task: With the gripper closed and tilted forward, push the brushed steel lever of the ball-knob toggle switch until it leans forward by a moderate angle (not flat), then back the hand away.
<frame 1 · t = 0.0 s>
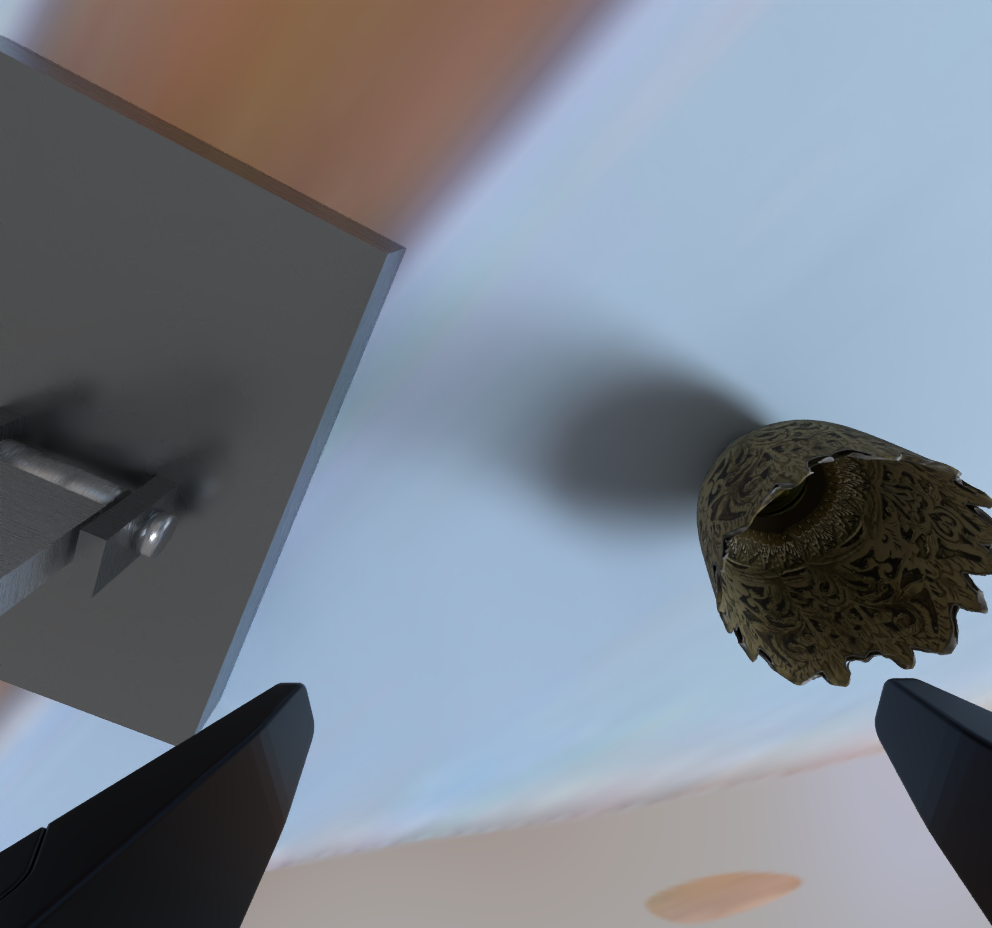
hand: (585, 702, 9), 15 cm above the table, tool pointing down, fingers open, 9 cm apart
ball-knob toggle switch: (136, 443, 24), on the table
cup: (752, 465, 23), on the table
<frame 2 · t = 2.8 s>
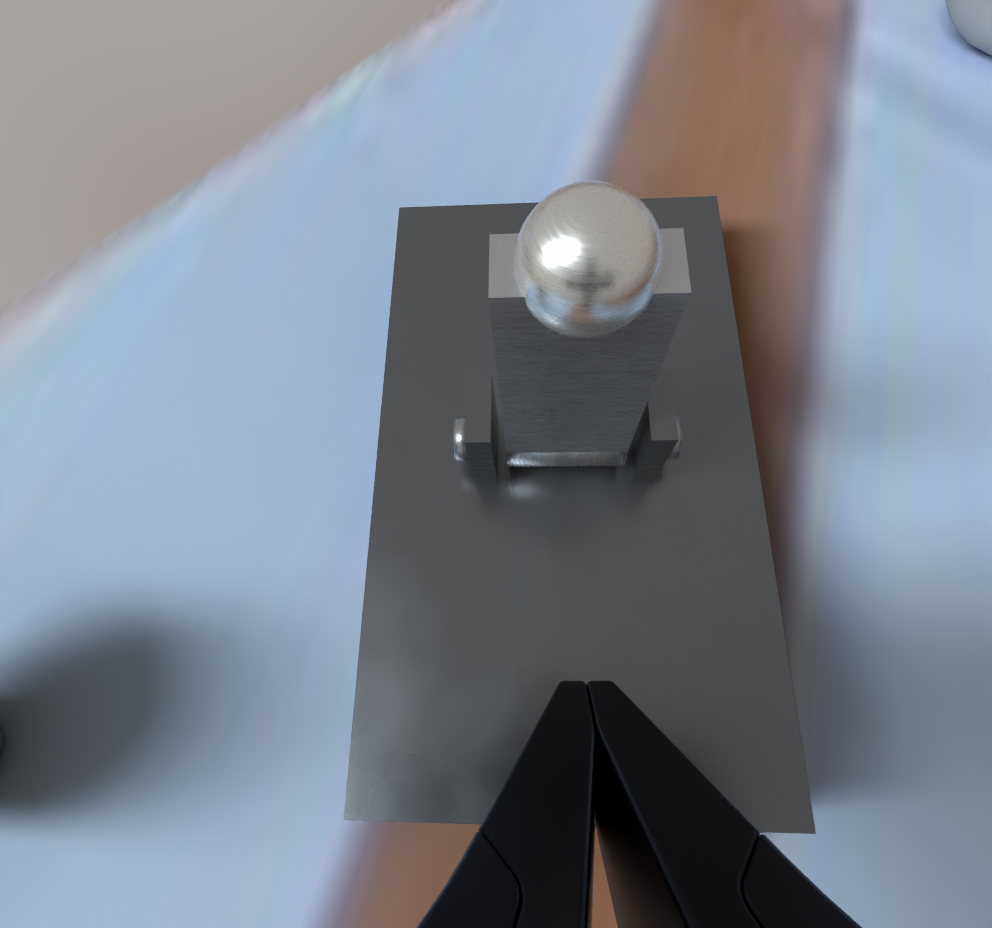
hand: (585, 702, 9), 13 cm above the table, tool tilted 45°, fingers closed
lever: (573, 368, 16), point 9 cm above the table, hinge at 0.0°
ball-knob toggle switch: (559, 479, 24), on the table
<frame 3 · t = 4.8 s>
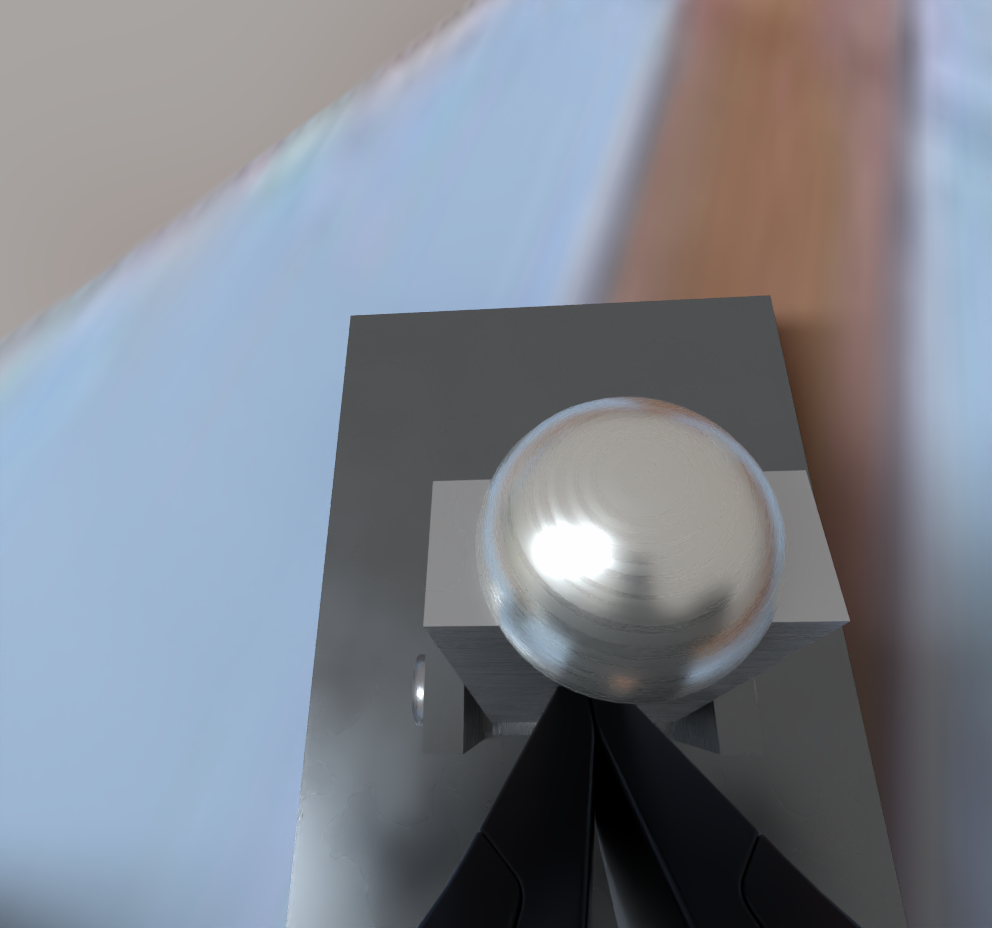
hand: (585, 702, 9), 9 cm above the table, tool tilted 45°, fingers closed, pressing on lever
lever: (593, 641, 10), point 9 cm above the table, hinge at 8.0°, touching gripper
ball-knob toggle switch: (569, 690, 18), on the table
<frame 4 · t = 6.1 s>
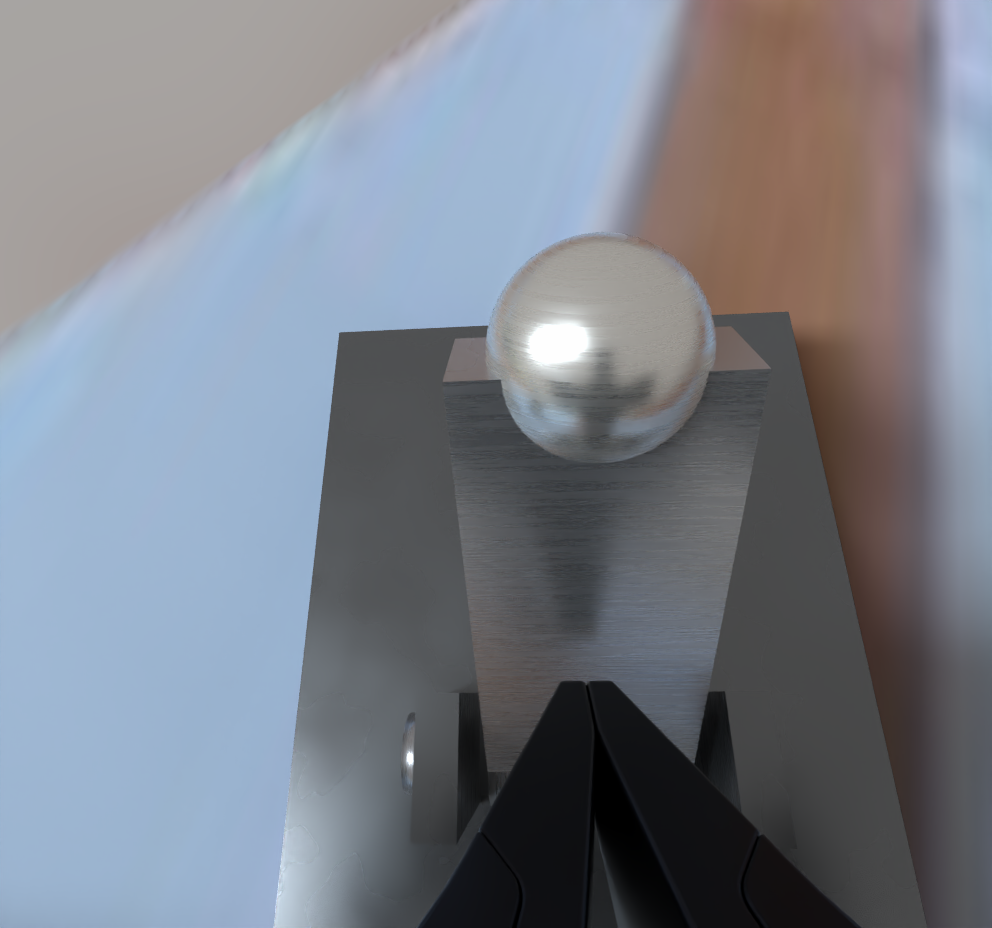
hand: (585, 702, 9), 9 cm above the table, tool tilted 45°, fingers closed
lever: (589, 587, 10), point 8 cm above the table, hinge at 37.2°
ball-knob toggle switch: (573, 737, 17), on the table
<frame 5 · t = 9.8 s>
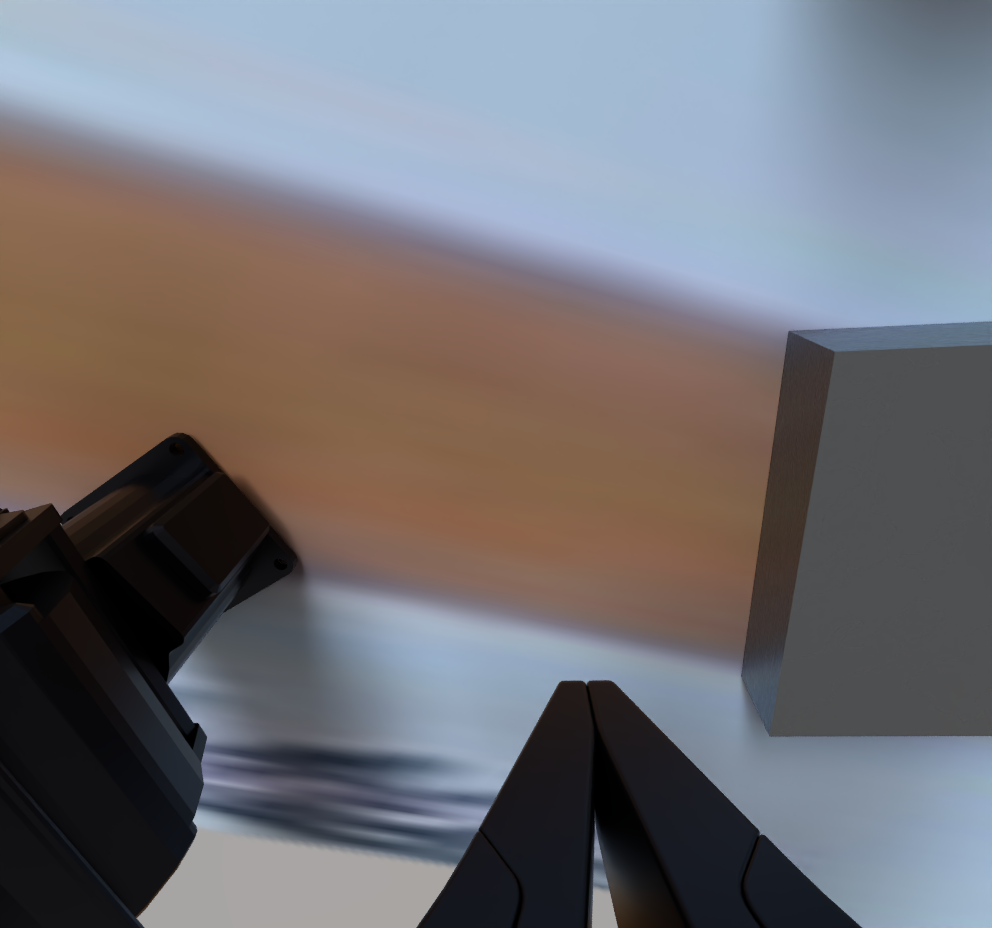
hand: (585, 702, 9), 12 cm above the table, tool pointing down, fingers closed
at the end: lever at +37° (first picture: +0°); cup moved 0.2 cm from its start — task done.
